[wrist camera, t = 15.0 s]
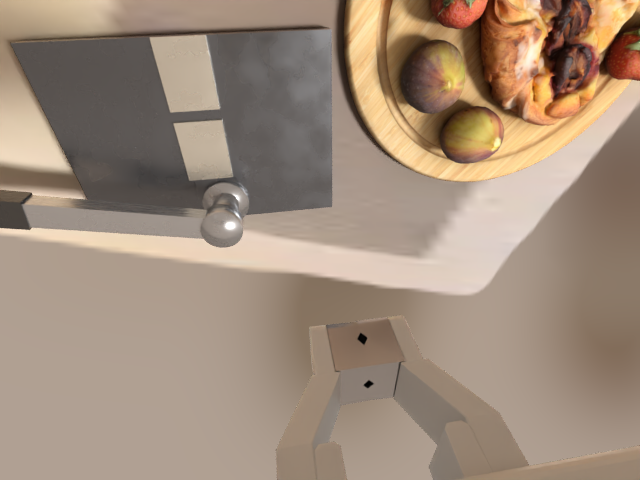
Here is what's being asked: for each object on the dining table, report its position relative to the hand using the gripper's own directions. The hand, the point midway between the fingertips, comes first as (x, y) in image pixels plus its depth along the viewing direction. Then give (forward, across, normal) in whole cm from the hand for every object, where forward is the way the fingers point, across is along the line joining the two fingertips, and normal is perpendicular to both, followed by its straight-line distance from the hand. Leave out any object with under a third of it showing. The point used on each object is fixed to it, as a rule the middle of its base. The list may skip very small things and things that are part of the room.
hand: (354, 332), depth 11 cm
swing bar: (+23, +16, +8) cm, 30 cm away
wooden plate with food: (+30, -21, -6) cm, 37 cm away
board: (+29, +9, +3) cm, 31 cm away
